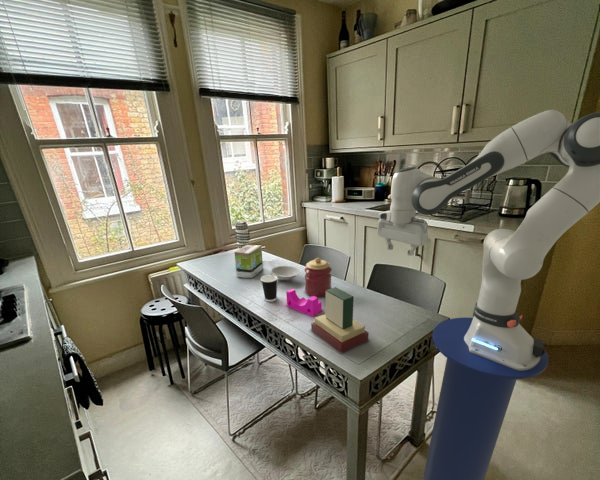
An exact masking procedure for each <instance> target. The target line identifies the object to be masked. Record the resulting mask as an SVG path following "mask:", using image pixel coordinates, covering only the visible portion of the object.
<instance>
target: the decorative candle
mask: <svg viewBox="0 0 600 480" xmlns="http://www.w3.org/2000/svg"><path fill="white" fill-rule="evenodd" d="M248 224H249V222H247V221H246V220H237V221H236V222H235V223H234V226H235V227H234V228H235V229H234V236H235V237H234V238H235V242H236V244H237V250H239V249H240V248H242V247H244V246H245V245H251V244H250V243H251V238H250V237H251V235H250V234H251V233H250V232H251V231H250V229H249V225H248Z"/></svg>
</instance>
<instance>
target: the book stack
mask: <svg viewBox="0 0 600 480" xmlns="http://www.w3.org/2000/svg"><path fill="white" fill-rule="evenodd" d="M310 324H311V325H310V327H311V330H310V331H311V332H312V333H313V334H315V335H316V336H318V337H319V338H320V339H322V340H323V341H324V342H325V343H327V344H329V345H330V346H331V347H332V348H334V349H335V350H336V351H338V353H341V354H343V353H344V352H347V351H349V350H351V349H353V348H356V347H357V346H359V345H362V344H364V343H365V342H368V341H369V331H367V330H365V329H366V326H365V325H364V324H362V323H360V322H358V321H357V320H356V319H354V318H353V326H351V327H348V328H346V329H342V328H340V327H338V326H337V325H335V324H334V323H332V322H331V321H329V320H328V319H326V313H324V314H321V315H319V316H316V317H314V322H311V323H310Z"/></svg>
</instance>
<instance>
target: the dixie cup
mask: <svg viewBox="0 0 600 480" xmlns="http://www.w3.org/2000/svg"><path fill="white" fill-rule="evenodd" d="M278 280H279V279H278V277H277V276H275V275H273V274H267V275H266V274H265V275H263V276H261V277H260V281H261V285H262V291H263V293H264V294H263V295H264V299H265V301H266V302H271V303H272V302H275V301H276V299H277V291H278V287H277V286H278Z"/></svg>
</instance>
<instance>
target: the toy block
mask: <svg viewBox="0 0 600 480" xmlns="http://www.w3.org/2000/svg"><path fill="white" fill-rule="evenodd" d="M285 295H286V306H287V307H288V308H290V309H293V310H295V311H298V312H300V313H303V314H306V315H308V316H310V317H314V316H316V315H318V314H319V313H320V312H322V311H323V309H322V308H323V307H322V306H323V304H322V303H323V302H322V301H321V300H319V297H315V296H310V297H309V298H306V297H301V298H300V297H299V296H298V294H297V291H296V289H294V288H290V289H289V290H286V292H285Z"/></svg>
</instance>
